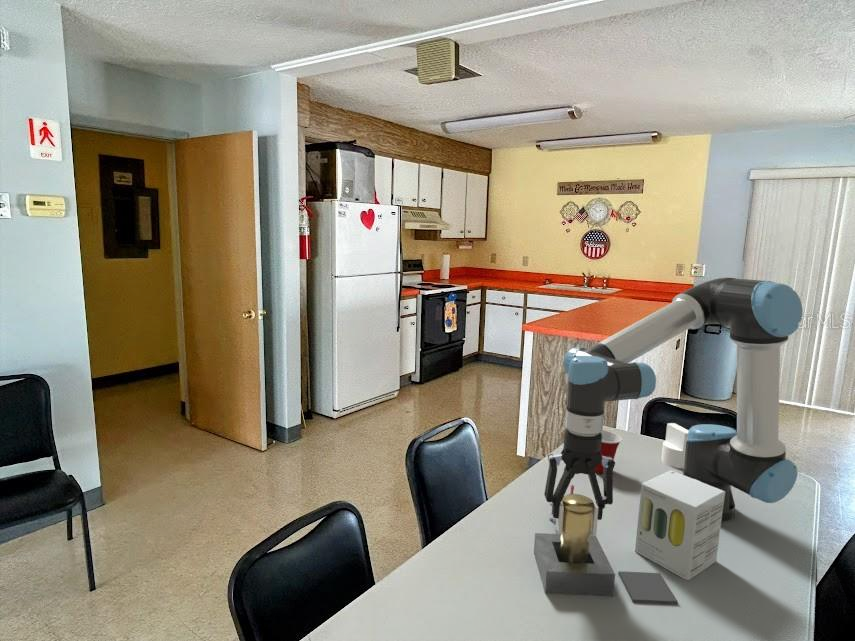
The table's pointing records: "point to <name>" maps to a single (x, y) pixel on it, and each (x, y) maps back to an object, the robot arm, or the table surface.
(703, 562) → the supplement box
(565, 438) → the robot arm
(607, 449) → the plastic cup
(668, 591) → the mat
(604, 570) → the housing
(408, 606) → the table surface
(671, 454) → the cylinder with rectangular tab
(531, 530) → the table surface
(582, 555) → the end cover
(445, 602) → the table surface
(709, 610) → the table surface
